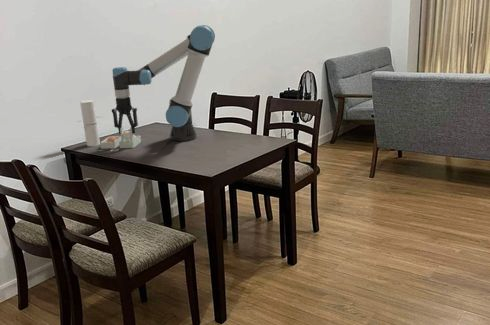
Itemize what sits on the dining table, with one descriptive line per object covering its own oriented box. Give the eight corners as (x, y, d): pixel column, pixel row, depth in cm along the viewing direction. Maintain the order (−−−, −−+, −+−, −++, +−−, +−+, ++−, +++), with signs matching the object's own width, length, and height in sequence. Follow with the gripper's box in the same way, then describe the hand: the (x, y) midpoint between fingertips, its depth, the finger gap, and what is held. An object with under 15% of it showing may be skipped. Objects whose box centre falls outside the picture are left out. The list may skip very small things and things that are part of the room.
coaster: (119, 150, 262) (119, 148, 261) (117, 152, 258) (116, 150, 258) (112, 150, 262) (112, 148, 262) (110, 152, 258) (110, 150, 258)
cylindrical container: (96, 147, 270) (89, 102, 263) (84, 147, 272) (77, 102, 265) (102, 143, 277) (96, 100, 270) (90, 143, 278) (84, 100, 271)
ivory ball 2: (138, 141, 274) (137, 133, 273) (135, 144, 270) (134, 135, 268) (129, 142, 275) (128, 133, 273) (126, 144, 270) (125, 135, 269)
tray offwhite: (123, 143, 276) (122, 136, 275) (114, 149, 264) (113, 142, 263) (110, 143, 277) (109, 136, 276) (101, 149, 265) (100, 142, 263)
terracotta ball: (118, 143, 272) (117, 135, 271) (115, 146, 268) (113, 137, 266) (109, 144, 273) (108, 135, 271) (106, 146, 268) (105, 137, 267)
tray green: (141, 142, 275) (140, 135, 274) (133, 148, 263) (132, 141, 261) (128, 142, 276) (127, 136, 275) (119, 149, 263) (118, 142, 262)
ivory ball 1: (133, 138, 268) (132, 129, 266) (130, 140, 263) (129, 131, 261) (125, 138, 268) (123, 129, 267) (121, 140, 263) (120, 131, 262)
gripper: (141, 95, 261) (145, 137, 268) (109, 96, 263) (114, 138, 270) (136, 97, 254) (141, 141, 261) (103, 98, 256) (109, 141, 263)
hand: (127, 139), depth 265 cm, fingers closed on ivory ball 1, 5 cm apart
